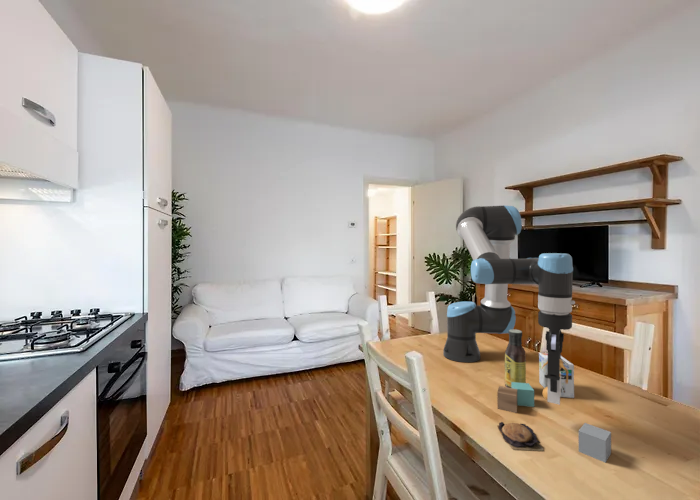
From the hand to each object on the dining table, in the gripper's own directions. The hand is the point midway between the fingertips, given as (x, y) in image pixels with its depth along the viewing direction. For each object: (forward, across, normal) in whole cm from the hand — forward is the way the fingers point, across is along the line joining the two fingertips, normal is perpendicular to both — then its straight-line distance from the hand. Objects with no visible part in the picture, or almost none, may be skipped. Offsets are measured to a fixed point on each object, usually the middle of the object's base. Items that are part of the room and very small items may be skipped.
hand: (554, 398), depth 84 cm
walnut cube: (+8, +4, +12) cm, 15 cm away
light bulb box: (+8, +24, +1) cm, 26 cm away
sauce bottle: (+8, +17, +12) cm, 22 cm away
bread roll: (+8, -11, +7) cm, 15 cm away
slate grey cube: (+7, -8, -8) cm, 13 cm away
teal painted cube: (+8, +9, +9) cm, 15 cm away
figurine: (+1, +1, 0) cm, 2 cm away
